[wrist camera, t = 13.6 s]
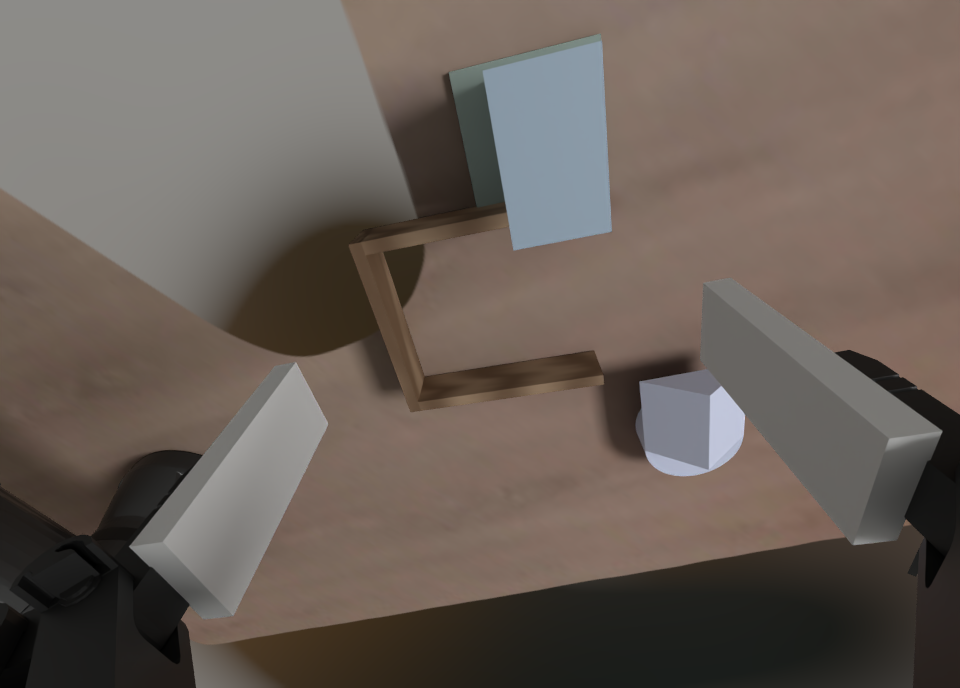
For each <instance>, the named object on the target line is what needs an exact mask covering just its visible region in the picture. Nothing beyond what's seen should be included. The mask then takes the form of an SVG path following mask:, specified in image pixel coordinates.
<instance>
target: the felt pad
mask: <svg viewBox="0 0 960 688" xmlns="http://www.w3.org/2000/svg"><path fill="white" fill-rule="evenodd" d="M599 41H601V34H597V35H593V36H590V37H586V38H582V39H578V40H574V41H570V42H566V43H562V44H558V45H554V46H550V47H546V48H542V49H538V50H534V51H531V52H527V53H523V54H519V55H515V56H511V57H507V58H503V59H499V60H495V61H491V62H487V63H483V64H479V65H475V66H472V67H468V68H464V69H460V70H456V71H452V72H449V76H450V81H451V86H452V91H453V96H454V100H455V105H456V110H457V115H458V120H459V124H460V129H461V134H462V139H463V144H464V149H465V153H466V158H467V163H468V168H469V173H470V177H471V182H472V187H473V192H474V197H475V202H476V206H477V208H478V207H483V206H487V205H492V204H497V203H502V202H505V198H504V192H503V186H502V181H501V175H500V169H499V163H498V158H497V152H496V146H495V140H494V134H493V129H492V123H491V117H490V111H489V106H488V100H487V94H486V88H485V82H484V77H483V70H487V69H491V68H495V67H499V66H503V65H507V64H511V63H515V62H519V61H523V60H527V59H531V58H535V57H539V56H543V55H547V54H551V53H555V52H559V51H563V50H567V49H571V48H575V47H579V46H583V45H587V44H591V43H595V42H599Z"/></svg>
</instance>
